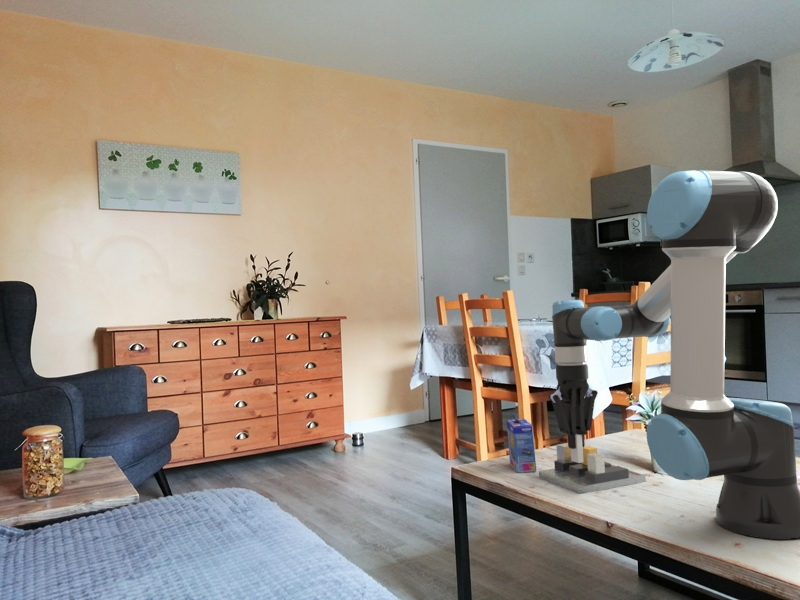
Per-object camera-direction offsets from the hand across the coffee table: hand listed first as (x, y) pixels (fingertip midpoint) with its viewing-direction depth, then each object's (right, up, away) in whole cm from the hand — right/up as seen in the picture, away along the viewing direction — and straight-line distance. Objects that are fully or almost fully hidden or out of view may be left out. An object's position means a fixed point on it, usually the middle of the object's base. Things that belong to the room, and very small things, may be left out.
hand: (577, 461), depth 144 cm
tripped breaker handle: (+3, -1, +1) cm, 4 cm away
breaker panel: (+4, -5, +1) cm, 6 cm away
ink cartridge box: (-10, -6, +15) cm, 19 cm away
